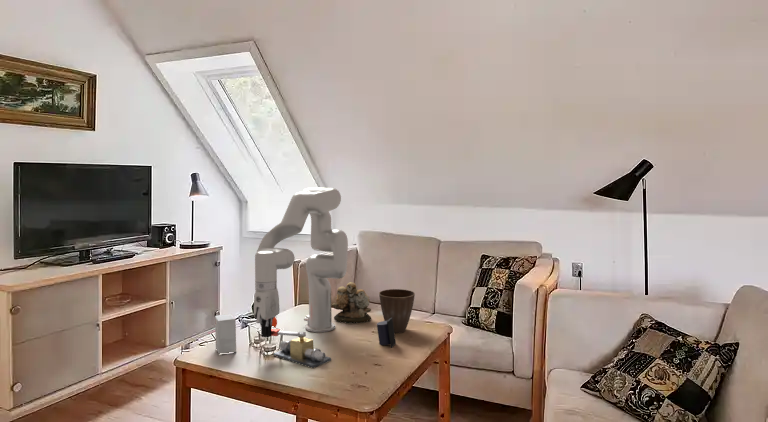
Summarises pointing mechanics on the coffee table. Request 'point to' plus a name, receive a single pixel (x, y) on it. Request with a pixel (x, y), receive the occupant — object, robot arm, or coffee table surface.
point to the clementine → (274, 322)
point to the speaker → (386, 333)
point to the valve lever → (287, 333)
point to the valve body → (302, 352)
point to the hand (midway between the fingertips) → (266, 336)
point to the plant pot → (397, 307)
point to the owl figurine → (352, 305)
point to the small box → (225, 333)
